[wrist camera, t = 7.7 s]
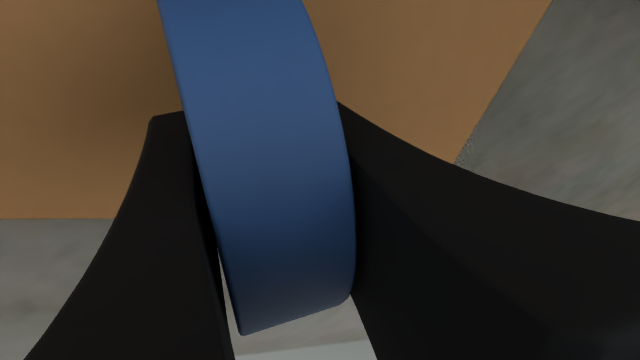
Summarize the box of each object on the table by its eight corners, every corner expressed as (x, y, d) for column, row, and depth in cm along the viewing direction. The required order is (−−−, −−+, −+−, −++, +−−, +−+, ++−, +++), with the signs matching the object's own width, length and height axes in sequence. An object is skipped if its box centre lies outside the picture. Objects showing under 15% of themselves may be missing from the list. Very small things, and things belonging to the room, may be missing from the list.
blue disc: (234, -88, 10) (376, 64, 5) (263, 163, 14) (349, 368, 10) (136, -80, 9) (182, 101, 4) (199, 178, 14) (255, 402, 9)
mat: (576, -57, 14) (585, -53, 13) (416, 210, 20) (421, 217, 20) (-707, -624, 4) (-759, -649, 4) (-265, 209, 10) (-275, 221, 10)
